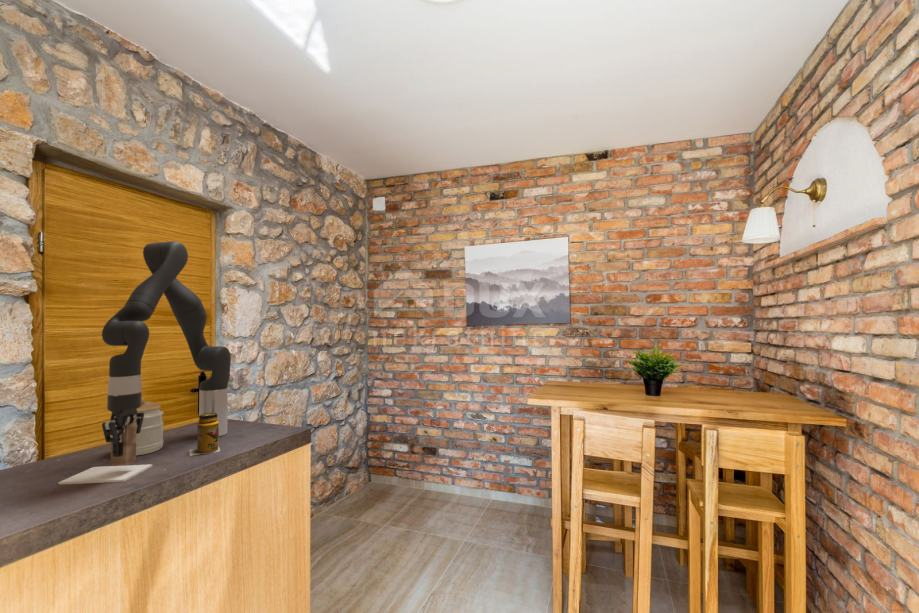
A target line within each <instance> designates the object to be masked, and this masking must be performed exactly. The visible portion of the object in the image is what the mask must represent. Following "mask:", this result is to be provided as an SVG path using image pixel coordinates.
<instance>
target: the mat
mask: <svg viewBox="0 0 919 613" xmlns="http://www.w3.org/2000/svg"><path fill="white" fill-rule="evenodd" d="M150 468H153V464H133V465H131V464H128V465H126V466H110V465H108V466H92V467H91V468H87V469H85V470H83V471H81V472H78V473H77V474H74V475H72V476H70V477H67V478H65V479H62V480H60V481H58V485H79V484H80V485H81V484H102V483H103V484H104V483H123V482H126V481H128V480H130V479H132V478H133V477H135V476H137V475H140V474H141V473H143V472H145V471H147V470H149V469H150Z"/></svg>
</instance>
